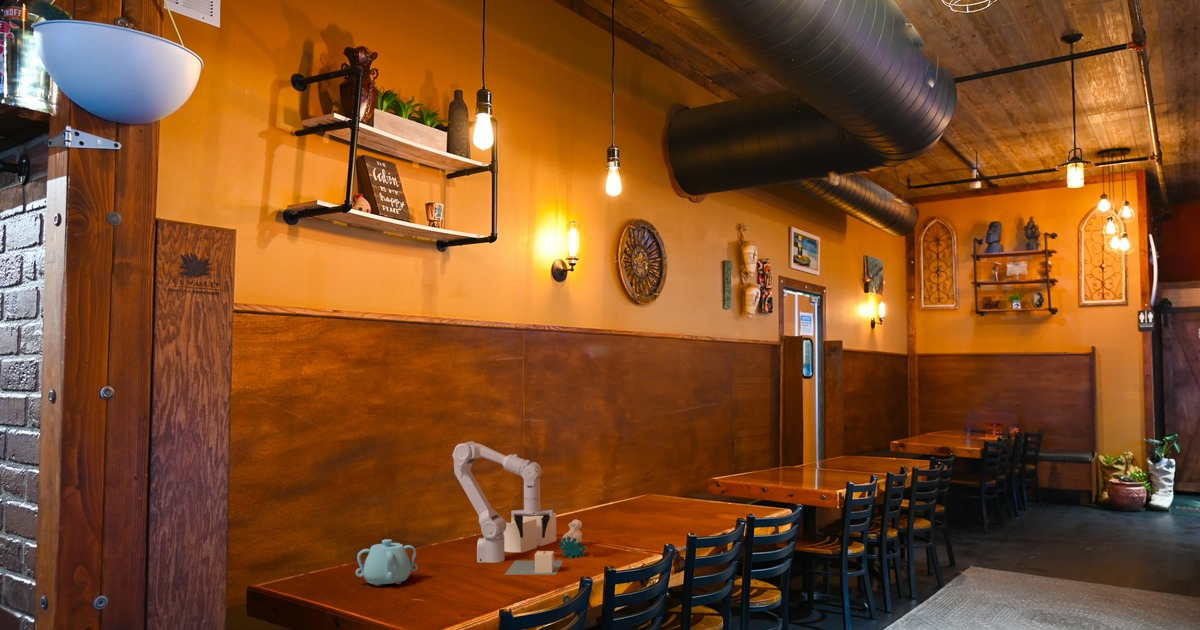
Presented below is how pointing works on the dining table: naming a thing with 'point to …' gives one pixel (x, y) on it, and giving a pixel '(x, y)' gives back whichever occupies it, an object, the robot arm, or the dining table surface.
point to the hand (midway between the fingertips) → (532, 537)
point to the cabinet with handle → (544, 561)
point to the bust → (574, 531)
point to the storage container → (529, 534)
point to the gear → (572, 548)
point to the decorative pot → (386, 563)
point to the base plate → (529, 568)
